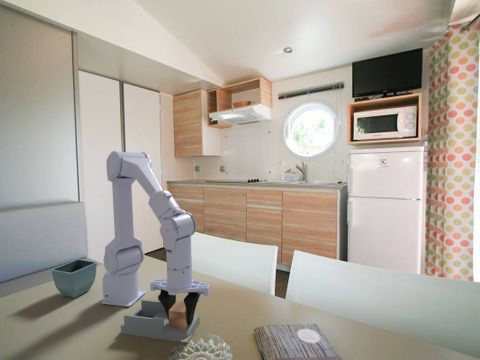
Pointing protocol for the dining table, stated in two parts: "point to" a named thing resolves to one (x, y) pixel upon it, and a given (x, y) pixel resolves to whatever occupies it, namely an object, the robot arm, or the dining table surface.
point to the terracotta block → (178, 316)
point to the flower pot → (74, 277)
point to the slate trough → (155, 323)
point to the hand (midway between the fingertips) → (181, 321)
